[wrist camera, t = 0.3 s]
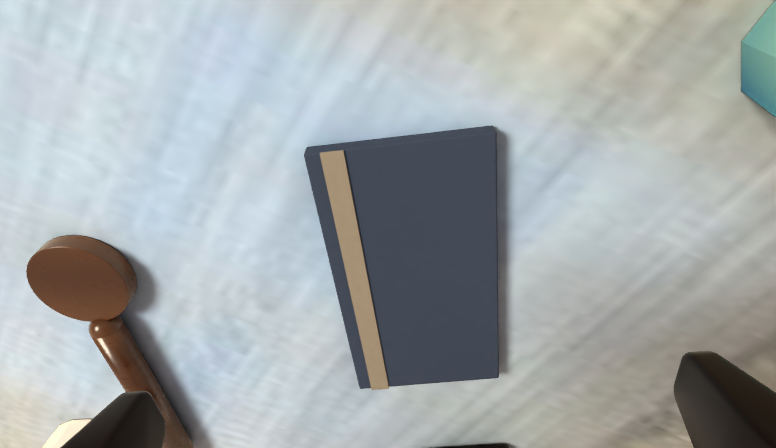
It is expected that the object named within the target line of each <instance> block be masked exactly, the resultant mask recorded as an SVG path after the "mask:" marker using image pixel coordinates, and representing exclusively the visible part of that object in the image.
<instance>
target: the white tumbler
mask: <svg viewBox="0 0 776 448" xmlns="http://www.w3.org/2000/svg"><path fill="white" fill-rule="evenodd" d="M90 421H91V419H84V420H71V421H69V422H66V423H63V424H60V426H59V427H58V428H57V429H56V430H55V432H54V433H53V434H52V435H51V437H50V438H49V439H48V441H47V442H46V443H45V445H44V446H43V447H42V448H60V447H61V446H63V445H64V444H65V443H66V442H67V441H68V440H69V439H71V438H72V437H73V436H74V435H75V434H76V433H77V432H79V431H80V430H81V429H82V428H83V427H84V426H85V425H86V424H88V423H89V422H90Z"/></svg>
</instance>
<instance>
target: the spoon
mask: <svg viewBox="0 0 776 448" xmlns="http://www.w3.org/2000/svg"><path fill="white" fill-rule="evenodd" d="M26 272H27V279H28V282H29V285H30V287H31V288H32V290H33V292H34V293H35V294H36V295H37V297H38V298H39V299H40V300H41V301H43V302H44V303H45V304H46V305H47V306H49V307H50V308H52V309H53V310H55V311H57V312H59V313H61V314H63V315H65V316H68V317H70V318H74V319H77V320H82V321H90V325H89V333H90V336H91V337H92V339H93V340H94V342H95V344H96V345H97V347H98V348H99V350H100V352H101V353H102V355H103V356H104V358H105V359H106V361H107V363H108V364H109V366H110V367H111V369H112V371H113V372H114V374H115V375H116V377H117V378H118V380H119V382H120V383H121V385H122V386H123V388H124V390H125V391H126V392H134V391H147V392H149V393H150V394H151V395H152V397H153V399H154V401H155V402H156V404H157V406H158V408H159V410H160V411H161V413H162V415H163V417H164V419H165V422H166V434H165V439H164V443H163V447H162V448H193V444H192V442H191V440H190V438H189V437H188V435H187V433H186V431H185V429H184V428H183V426H182V424H181V422H180V421H179V419H178V417H177V415H176V414H175V412H174V410H173V408H172V407H171V405H170V403H169V401H168V400H167V398H166V396H165V394H164V393H163V391H162V389H161V387H160V386H159V384H158V382H157V380H156V379H155V377H154V375H153V373H152V372H151V370H150V368H149V366H148V364H147V363H146V361H145V359H144V357H143V356H142V354H141V352H140V350H139V349H138V347H137V345H136V343H135V342H134V340H133V338H132V336H131V335H130V333H129V331H128V329H127V328H126V326H125V324H124V322H123V321H122V319H121V318H120V317H119V316H118V315H120V314H121V313H122V312H123V311H124V310H125V308H126V307H127V305H128V304H129V302H130V301H131V299H132V298H133V296H134V294H135V292H136V289H137V279H136V275H135V273H134V270H133V268H132V267H131V265H130V264H129V262H128V261H127V260H126V259H125V258H124V257H123V256H122V255H121V254H120V253H119V252H118V251H116V250H115V249H113V248H112V247H110V246H109V245H107V244H105V243H103V242H101V241H98V240H96V239H93V238H89V237H85V236H78V235H66V236H60V237H57V238H54V239H52V240H50V241H48V242H47V243H45V244H44V245H43V246H42V247H41V248H40V249H39V250H38V251H37V252H36V253H35V254H34V255H33V256H32V257H31V259H30V261H29V262H28V265H27V271H26Z"/></svg>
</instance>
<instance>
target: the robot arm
mask: <svg viewBox="0 0 776 448" xmlns="http://www.w3.org/2000/svg"><path fill="white" fill-rule="evenodd" d="M674 395H675V399H676V402H677V405H678V408H679V410H680V413H681V415H682V418H683V421H684V423H685V426H686V429H687V431H688V434H689V436H690V439H691V442H692V444H693V447H694V448H776V393H775V392H774V391H772V390H771V389H769V388H768V387H766V386H765V385H763V384H762V383H760V382H759V381H757V380H756V379H754V378H753V377H751V376H750V375H748V374H747V373H745V372H744V371H742V370H741V369H739V368H738V367H736V366H735V365H733V364H732V363H730V362H729V361H727V360H726V359H724V358H723V357H721V356H720V355H718V354H717V353H714V352H712V351H699V352H688V353H686V354H685V355H684V356H683V357H682V359H681V363H680V366H679V370H678V373H677V377H676V380H675V384H674ZM165 434H166V422H165V419H164V417H163V415H162V413H161V411H160V410H159V408H158V406H157V404H156V402H155V401H154V399H153V397H152V395H151V394H150V393H149V392H147V391H134V392H125V393H123V394H121V395H120V396H118V397H117V398H116V399H115V400H114V401H113V402H111V403H110V404H109V405H108V406H107V407H106V408H105V409H103V410H102V411H101V412H100V413H99V414H98V415H97V416H96V417H94V418H93V419H92V420H91V421H90V422H89V423H88V424H86V425H85V426H84V427H83V428H82V429H81V430H80V431H79V432H77V433H76V434H75V435H74V436H73V437H72V438H71V439H69V440H68V441H67V442H66V443H65V444H64V445H63V446H61V447H60V448H162V447H163V443H164V439H165ZM456 448H509V446H508V445H505V444H499V445H485V446H470V447H456Z"/></svg>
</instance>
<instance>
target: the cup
mask: <svg viewBox="0 0 776 448" xmlns="http://www.w3.org/2000/svg"><path fill="white" fill-rule="evenodd" d="M741 91H742V92H743V93H744V94H746V95H747V96H748V97H750V98H751V99H752V100H754V101H755V102H756V103H758V104H759V105H760V106H762V107H763V108H764V109H766V110H767V111H768V112H770V113H771V114H772V115H774V116H775V117H776V0H775V1H774V2H773V3H772V4H771V6H770V7H769V8H768V9H767V11H766V12H765V13H764V14H763V16H762V17H761V18H760V19H759V21H758V22H757V23H756V24H755V26H754V27H753V28H752V29H751V31H750V32H749V33H748V34H747V35H746V37H745V38H744V39H743V40H742V42H741Z"/></svg>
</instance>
